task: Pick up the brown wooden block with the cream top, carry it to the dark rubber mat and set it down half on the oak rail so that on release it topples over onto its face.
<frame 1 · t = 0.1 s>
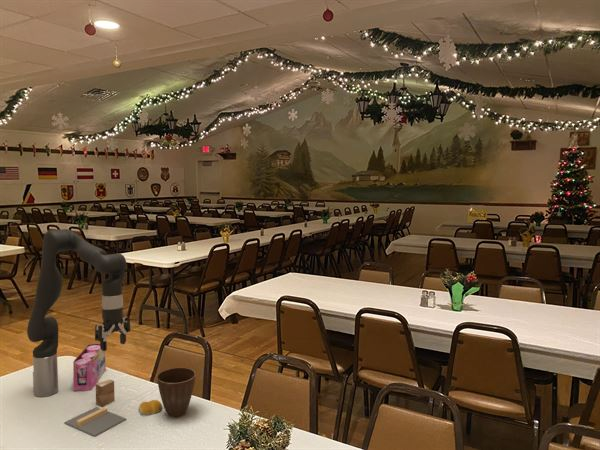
hand: (113, 347, 176), 29 cm above the table, fingers open, 8 cm apart
bread roll: (149, 411, 186), on the table
gum box: (90, 380, 213), on the table
brown wooden block: (105, 402, 191), on the table
mat: (95, 421, 176), on the table
plant pot: (176, 413, 184), on the table
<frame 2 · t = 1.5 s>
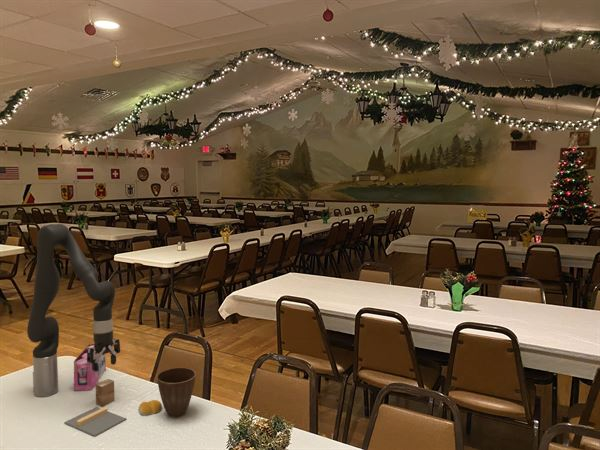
hand: (104, 367, 190), 15 cm above the table, fingers open, 8 cm apart
nothing on the table moved.
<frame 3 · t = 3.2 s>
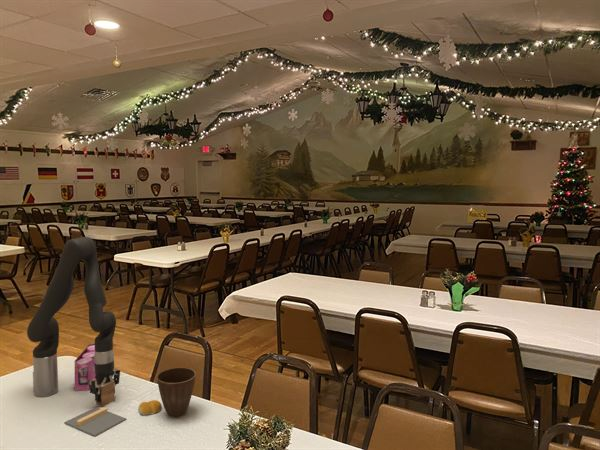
hand: (105, 398, 191), 2 cm above the table, fingers closed on brown wooden block, 6 cm apart
brown wooden block: (105, 402, 191), on the table, touching gripper
everything else where it was.
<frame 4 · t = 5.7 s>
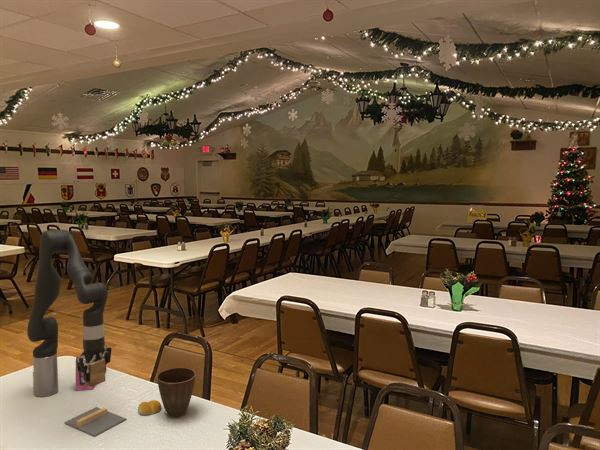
hand: (94, 378, 175), 18 cm above the table, fingers closed on brown wooden block, 6 cm apart
brown wooden block: (95, 382, 175), point 16 cm above the table, touching gripper
everything else where it was.
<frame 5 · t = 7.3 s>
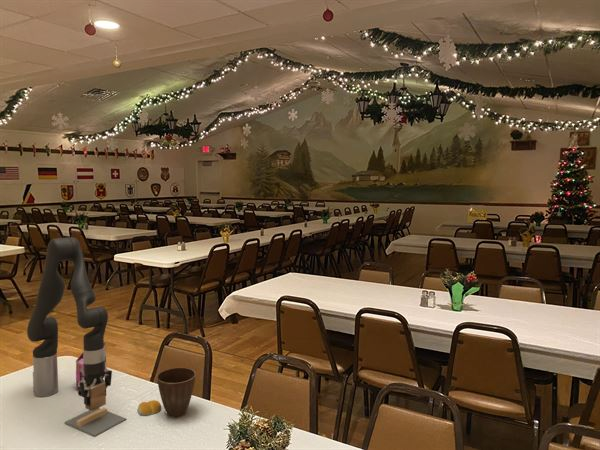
hand: (95, 401, 175), 8 cm above the table, fingers closed on brown wooden block, 6 cm apart
brown wooden block: (95, 406, 175), point 6 cm above the table, touching gripper
everything else where it was.
when the fingers open (5 cm above the table, at t = 8.6 s): brown wooden block moves 2 cm and tips over, resting on mat.
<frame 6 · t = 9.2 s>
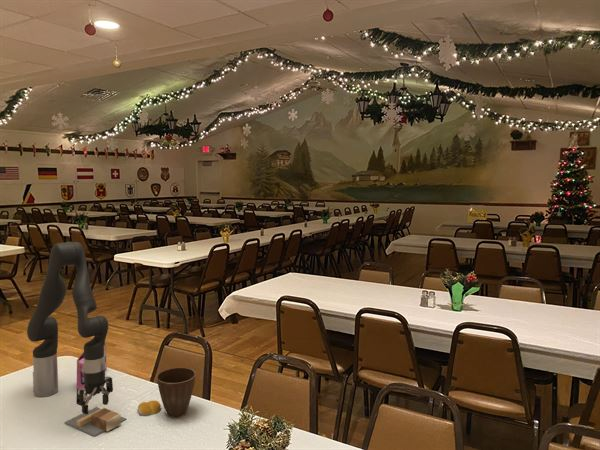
hand: (95, 409, 176), 5 cm above the table, fingers open, 8 cm apart
brown wooden block: (98, 416, 175), point 3 cm above the table, tilted 90°, touching mat
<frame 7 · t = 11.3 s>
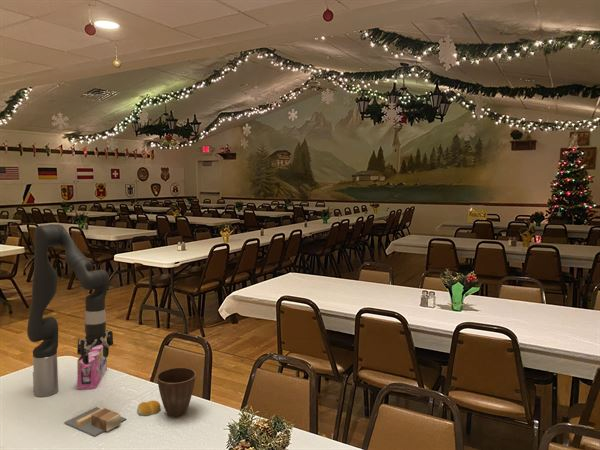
hand: (95, 360, 181), 22 cm above the table, fingers open, 8 cm apart
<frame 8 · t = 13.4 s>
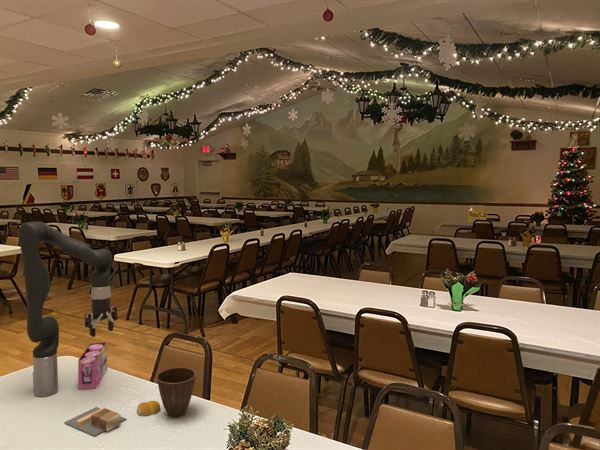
hand: (102, 333, 194), 28 cm above the table, fingers open, 8 cm apart
at the end: brown wooden block tilted 90°; brown wooden block inside the target area (3.8 cm from its centre), point 2.6 cm above the table; the gripper is holding nothing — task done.
